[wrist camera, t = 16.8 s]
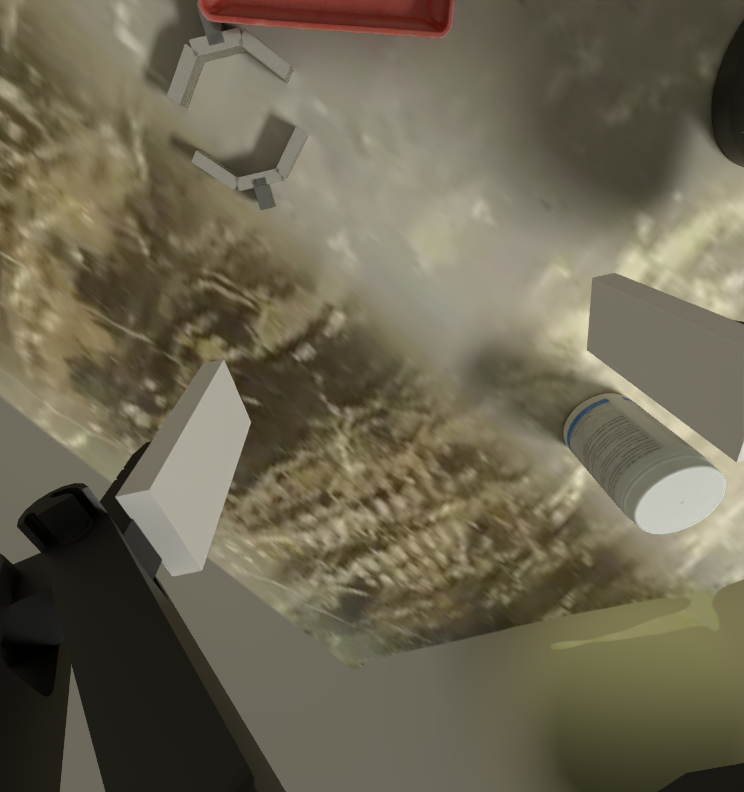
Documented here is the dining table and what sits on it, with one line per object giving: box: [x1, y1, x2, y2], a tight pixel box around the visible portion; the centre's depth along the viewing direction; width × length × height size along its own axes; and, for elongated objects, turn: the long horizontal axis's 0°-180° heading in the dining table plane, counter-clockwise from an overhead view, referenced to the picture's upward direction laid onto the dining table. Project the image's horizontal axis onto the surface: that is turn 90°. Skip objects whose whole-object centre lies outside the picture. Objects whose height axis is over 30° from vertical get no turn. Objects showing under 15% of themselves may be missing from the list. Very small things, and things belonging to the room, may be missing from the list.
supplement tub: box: [564, 393, 726, 534], centre depth 47 cm, size 10×10×15 cm
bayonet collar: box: [167, 3, 308, 210], centre depth 33 cm, size 10×14×2 cm
